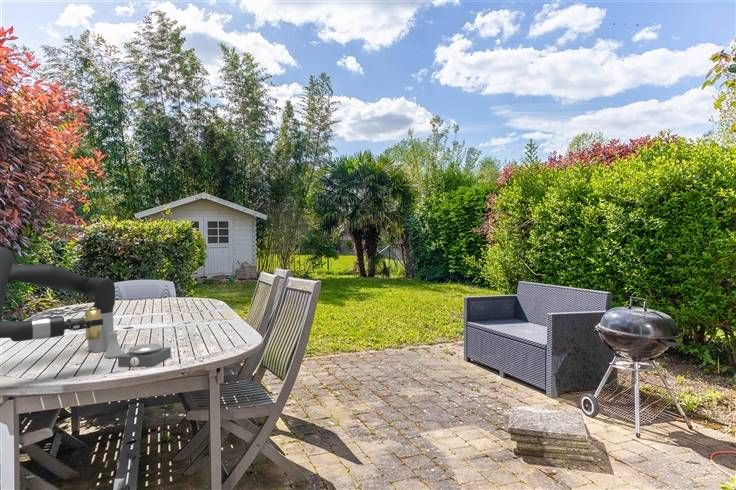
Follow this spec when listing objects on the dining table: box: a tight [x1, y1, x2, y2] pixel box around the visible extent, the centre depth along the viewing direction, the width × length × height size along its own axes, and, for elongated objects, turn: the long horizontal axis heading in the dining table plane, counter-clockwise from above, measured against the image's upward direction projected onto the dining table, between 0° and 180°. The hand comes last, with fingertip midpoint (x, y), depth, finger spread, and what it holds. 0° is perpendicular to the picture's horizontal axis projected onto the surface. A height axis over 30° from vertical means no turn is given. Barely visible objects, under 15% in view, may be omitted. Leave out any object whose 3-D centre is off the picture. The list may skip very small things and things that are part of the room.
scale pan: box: [128, 343, 162, 354], centre depth 176 cm, size 12×12×1 cm
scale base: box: [117, 346, 172, 368], centre depth 176 cm, size 14×14×4 cm
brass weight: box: [84, 307, 101, 341], centre depth 166 cm, size 5×5×12 cm
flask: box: [103, 332, 124, 359], centre depth 185 cm, size 7×7×10 cm
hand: (100, 320), depth 168 cm, fingers closed on brass weight, 5 cm apart
